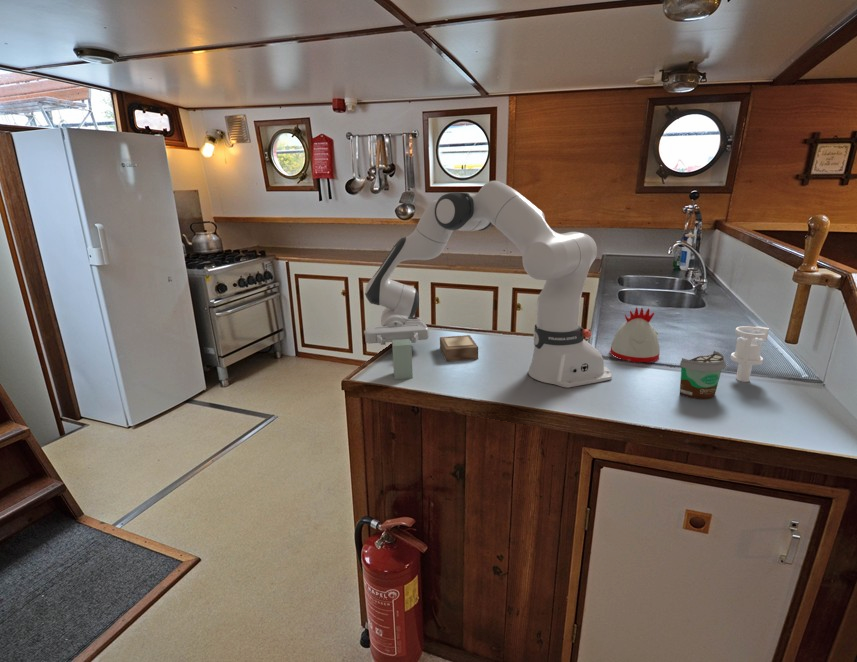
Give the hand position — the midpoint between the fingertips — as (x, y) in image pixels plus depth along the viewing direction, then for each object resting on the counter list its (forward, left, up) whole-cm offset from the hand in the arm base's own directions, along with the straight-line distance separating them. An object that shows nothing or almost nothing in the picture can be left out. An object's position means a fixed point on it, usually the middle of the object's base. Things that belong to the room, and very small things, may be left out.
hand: (398, 341), depth 146 cm
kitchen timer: (-72, +10, -6) cm, 73 cm away
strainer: (-89, +33, -6) cm, 96 cm away
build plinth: (-19, -2, -6) cm, 20 cm away
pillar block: (0, +12, -6) cm, 14 cm away
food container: (-73, +40, -6) cm, 84 cm away
